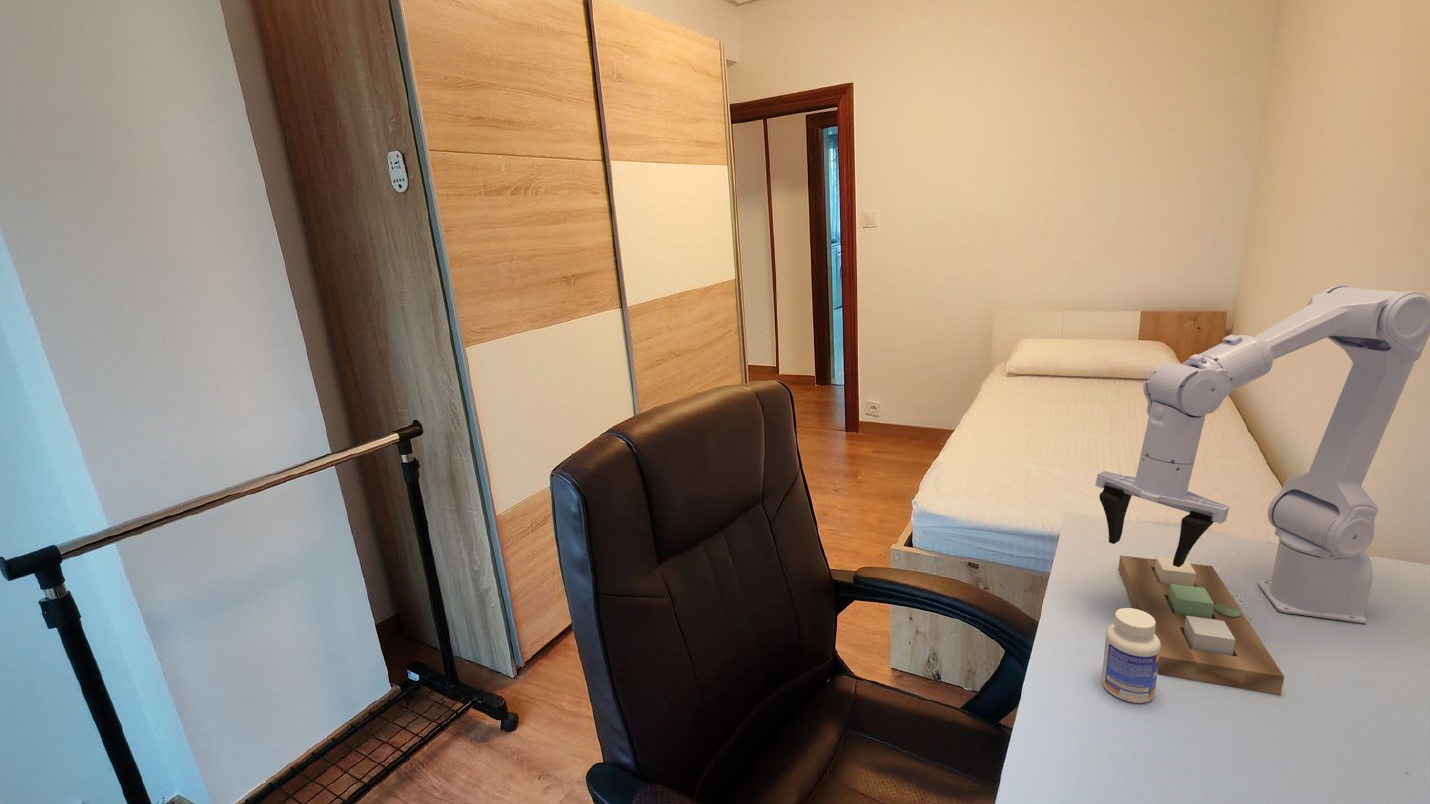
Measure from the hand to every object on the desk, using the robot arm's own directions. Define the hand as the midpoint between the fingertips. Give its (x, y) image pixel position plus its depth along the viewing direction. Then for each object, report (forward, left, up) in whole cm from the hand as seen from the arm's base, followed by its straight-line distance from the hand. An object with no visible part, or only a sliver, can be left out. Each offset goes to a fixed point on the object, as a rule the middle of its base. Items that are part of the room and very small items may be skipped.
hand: (1145, 552), depth 86 cm
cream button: (-6, -10, -9) cm, 15 cm away
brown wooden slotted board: (-6, -2, -11) cm, 12 cm away
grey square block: (-6, +6, -9) cm, 13 cm away
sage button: (-6, -2, -9) cm, 11 cm away
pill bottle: (+4, +15, -11) cm, 19 cm away
